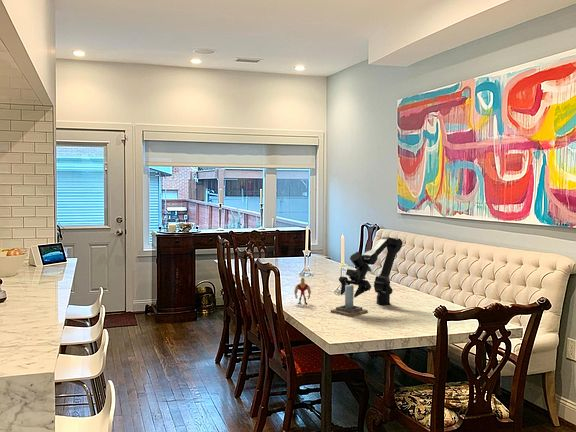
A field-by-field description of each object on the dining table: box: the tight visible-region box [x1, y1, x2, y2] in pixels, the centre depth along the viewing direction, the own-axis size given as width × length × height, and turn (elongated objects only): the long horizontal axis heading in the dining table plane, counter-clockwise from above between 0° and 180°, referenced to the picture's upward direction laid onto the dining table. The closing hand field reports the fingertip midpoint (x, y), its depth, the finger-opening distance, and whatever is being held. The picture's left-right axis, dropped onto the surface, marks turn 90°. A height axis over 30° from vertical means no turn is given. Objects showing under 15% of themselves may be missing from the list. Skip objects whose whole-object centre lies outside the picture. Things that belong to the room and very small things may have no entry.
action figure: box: [294, 277, 312, 305], centre depth 324 cm, size 10×4×15 cm, turn 88°
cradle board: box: [330, 304, 369, 317], centre depth 303 cm, size 14×14×3 cm
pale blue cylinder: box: [344, 284, 355, 310], centre depth 303 cm, size 4×4×13 cm
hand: (347, 295), depth 302 cm, fingers open, 9 cm apart
